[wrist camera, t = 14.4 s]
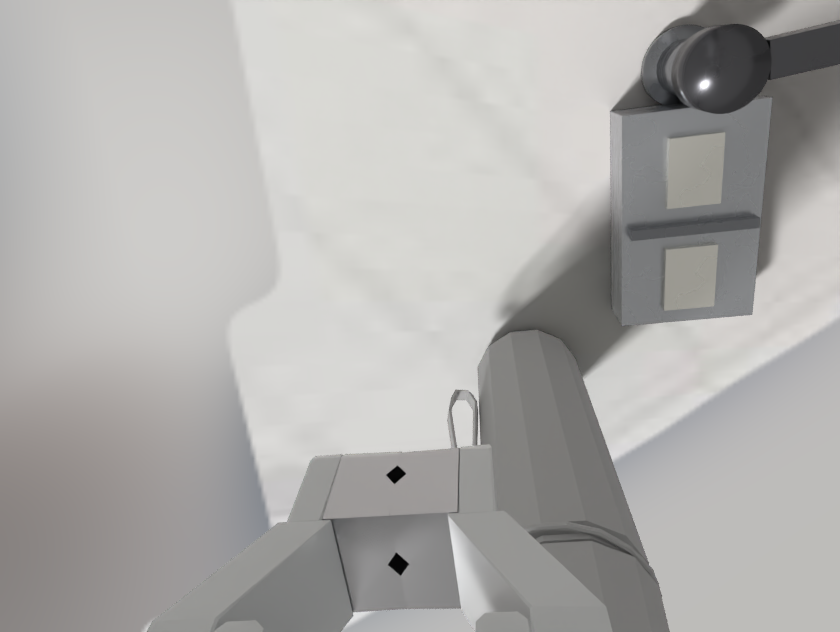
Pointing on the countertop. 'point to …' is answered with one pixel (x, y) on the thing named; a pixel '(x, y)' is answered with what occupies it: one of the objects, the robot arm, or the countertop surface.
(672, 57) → the grey round knob
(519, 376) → the water bottle
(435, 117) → the countertop surface
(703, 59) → the bar
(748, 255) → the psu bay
